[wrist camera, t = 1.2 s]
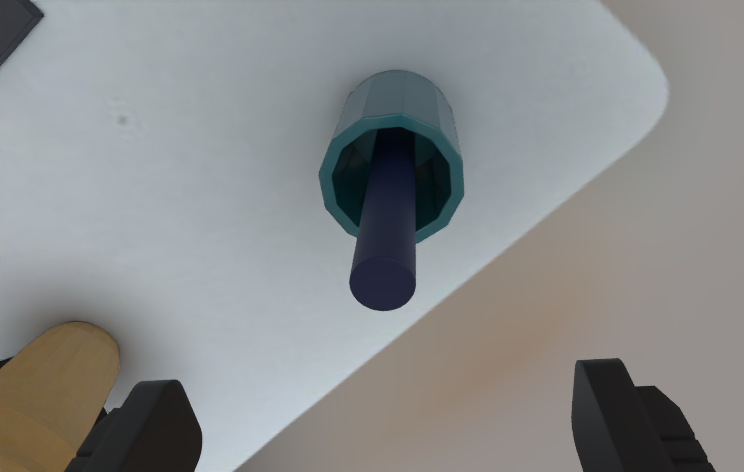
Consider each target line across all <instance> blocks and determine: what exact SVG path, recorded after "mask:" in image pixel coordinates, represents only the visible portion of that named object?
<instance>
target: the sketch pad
mask: <svg viewBox="0 0 744 472" xmlns="http://www.w3.org/2000/svg"><path fill="white" fill-rule="evenodd" d="M42 17H43V14H42V13H41V12H40V11H39V10H38V9H37V8H36V7H35V6H34V5H33V4H32V3H31V2H30V1H29V0H0V65H1V64H2V63H3V62H4V61H5V59H6V58H7V57H8V56H9V55H10V54H11V53H12V51H13V50H14V49H15V48H16V47H17V46H18V44H19V43H20V42H21V41H22V40H23V39H24V37H25V36H26V35H27V34H28V33H29V32H30V30H31V29H32V28H33V27H34V26H35V25H36V23H37V22H38V21H39V20H40V19H41V18H42Z"/></svg>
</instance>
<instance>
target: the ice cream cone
mask: <svg viewBox="0 0 744 472" xmlns="http://www.w3.org/2000/svg"><path fill="white" fill-rule="evenodd" d="M118 372H119V348H118V346H117V344H116V342H115V340H114V339H113V338H112V337H111V336H110V335H109V334H108V333H106V332H105V331H103V330H102V329H100V328H99V327H97V326H94V325H92V324H89V323H84V322H70V323H65V324H62V325H59V326H56V327H54V328H51V329H50V330H48V331H46V332H44V333H43V334H42V335H40V336H39V337H38V338H36V339H35V340H34V341H32V342H31V343H30V344H28V345H27V346H26V347H25V348H24V349H23V350H21V351H20V352H19V353H18V354H17V355H16V356H14V357H13V358H12V359H11V360H10V361H9V362H8V363H6V364H5V365H4V366H3V367H2V368H1V369H0V472H64V471H65V469H66V467H67V466H68V464H69V463H70V461H71V460H72V458H75V457H76V452H77V451H78V449H79V448H80V446H81V445H82V443H83V441H84V440H85V438H86V437H87V435H88V434H89V432H90V431H91V429H92V427H93V425H94V423H95V421H96V419H97V417H98V415H99V413H100V411H101V409H102V407H103V405H104V403H105V401H106V399H107V397H108V395H109V393H110V391H111V389H112V387H113V384H114V382H115V380H116V377H117V375H118Z"/></svg>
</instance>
